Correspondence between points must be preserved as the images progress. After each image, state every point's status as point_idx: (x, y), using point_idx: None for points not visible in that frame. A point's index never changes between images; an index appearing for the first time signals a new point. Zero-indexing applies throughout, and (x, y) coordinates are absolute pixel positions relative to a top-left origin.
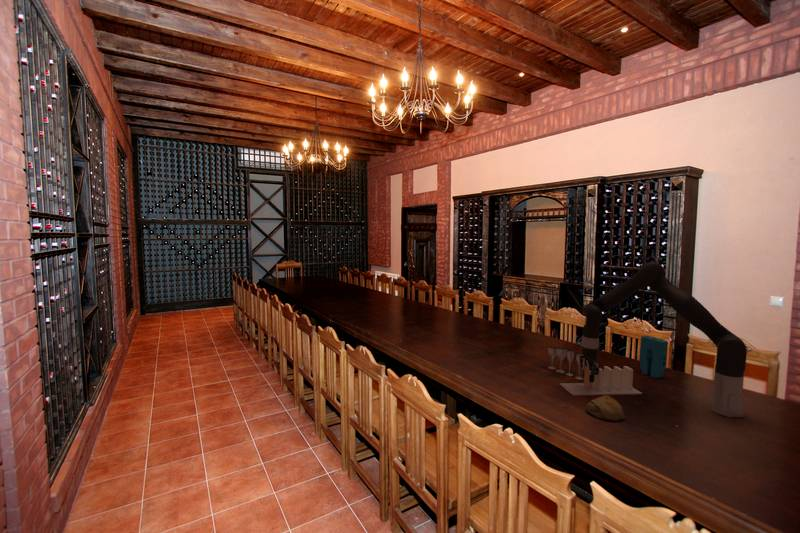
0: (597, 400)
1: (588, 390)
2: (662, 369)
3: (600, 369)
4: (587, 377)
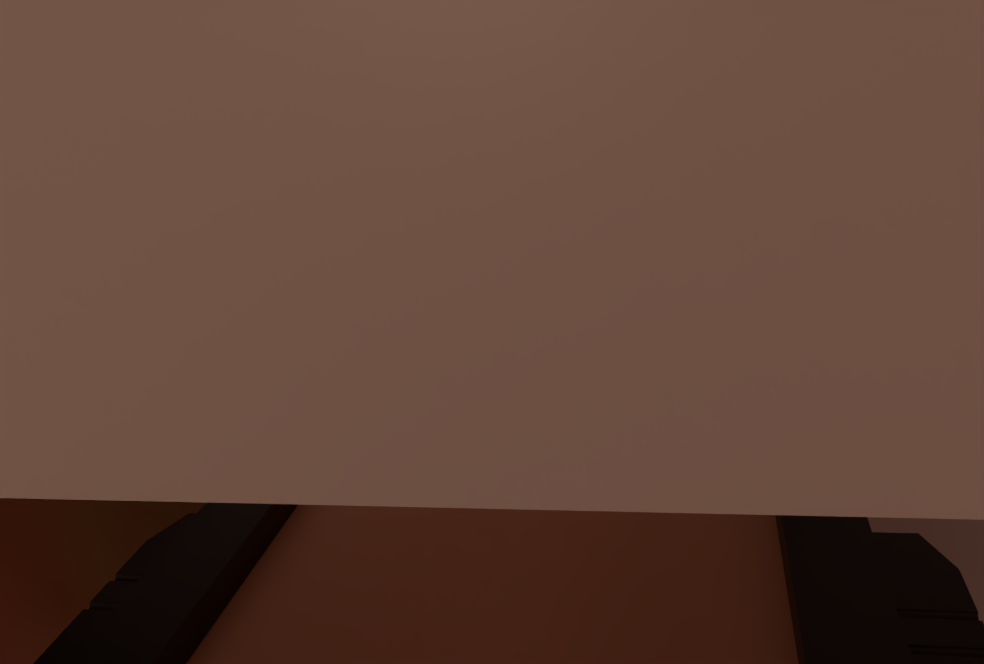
0: None
1: None
2: None
3: (654, 268)
4: None
